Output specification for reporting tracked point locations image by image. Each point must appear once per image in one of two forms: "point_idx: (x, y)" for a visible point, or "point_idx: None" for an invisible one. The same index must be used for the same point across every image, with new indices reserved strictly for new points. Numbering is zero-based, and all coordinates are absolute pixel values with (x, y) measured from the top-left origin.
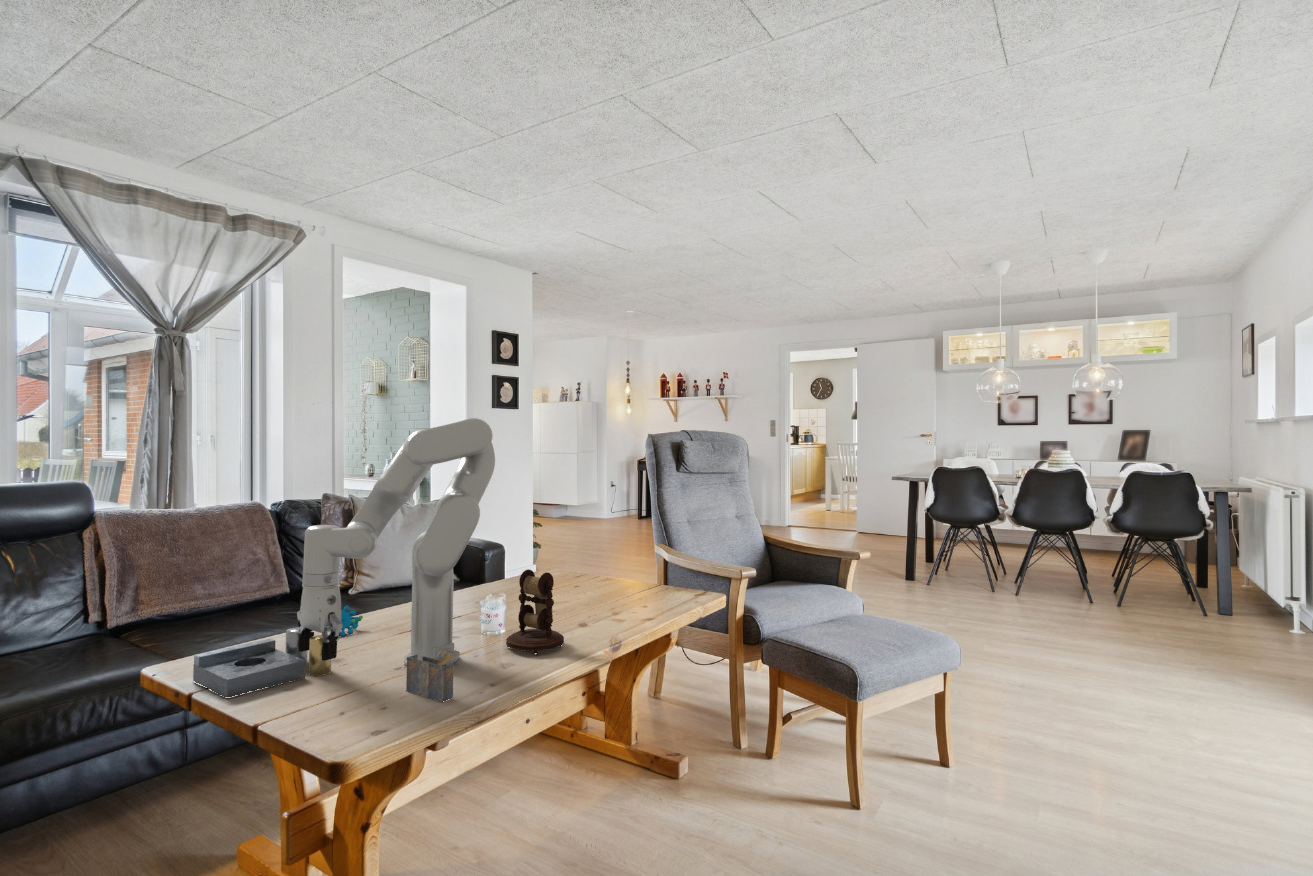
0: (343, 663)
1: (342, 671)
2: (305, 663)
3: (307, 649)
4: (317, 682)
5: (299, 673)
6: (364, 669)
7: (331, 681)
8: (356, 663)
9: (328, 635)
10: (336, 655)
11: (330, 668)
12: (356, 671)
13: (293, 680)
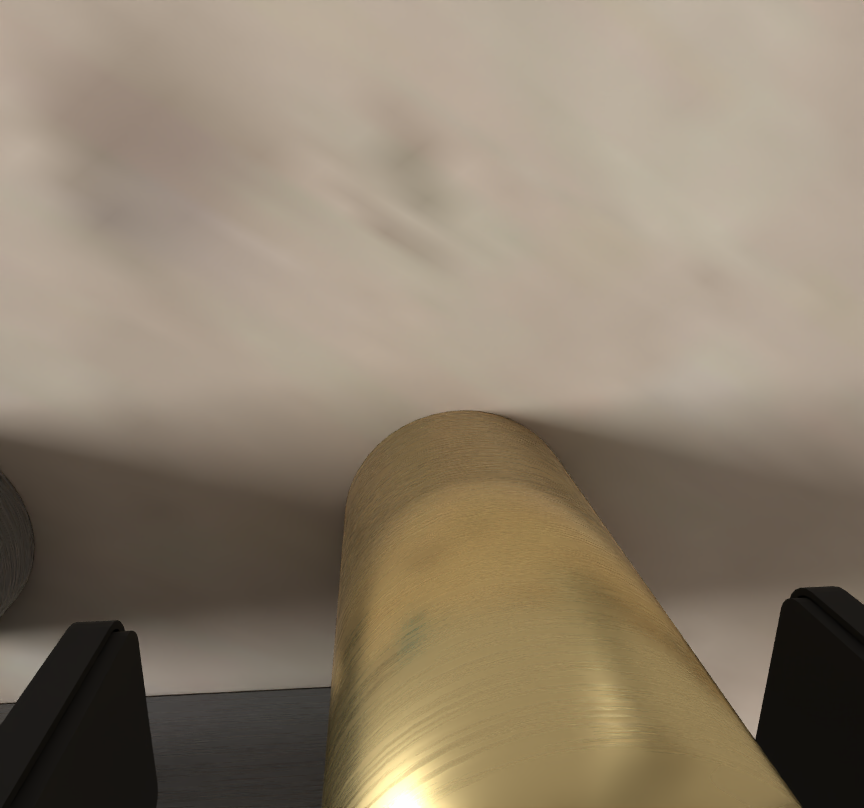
0: (355, 156)
1: (630, 346)
2: (3, 480)
3: (145, 723)
4: (700, 656)
5: None
6: (801, 131)
7: (793, 570)
8: (502, 36)
9: (578, 793)
10: (851, 597)
11: (564, 469)
12: (773, 242)
13: None
